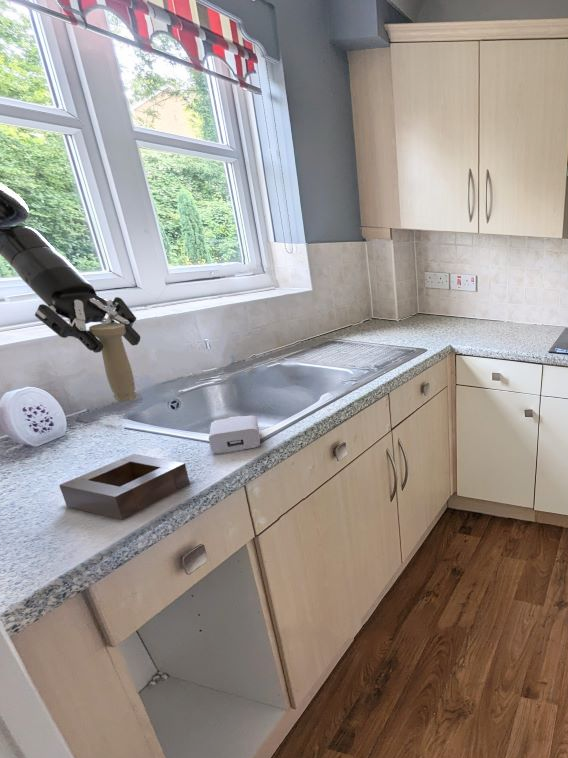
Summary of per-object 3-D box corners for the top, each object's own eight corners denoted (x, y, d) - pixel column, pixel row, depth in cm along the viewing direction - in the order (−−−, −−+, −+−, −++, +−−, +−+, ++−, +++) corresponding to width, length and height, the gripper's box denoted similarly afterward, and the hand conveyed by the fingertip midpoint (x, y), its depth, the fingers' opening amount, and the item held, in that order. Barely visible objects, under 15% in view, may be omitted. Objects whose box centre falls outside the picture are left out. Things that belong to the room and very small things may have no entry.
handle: (106, 406, 88) (85, 329, 83) (114, 396, 93) (95, 323, 88) (138, 403, 90) (119, 328, 85) (144, 393, 95) (127, 322, 90)
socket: (122, 519, 77) (115, 496, 75) (66, 507, 79) (58, 484, 78) (190, 483, 88) (185, 463, 86) (139, 473, 90) (133, 453, 89)
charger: (258, 423, 116) (260, 446, 104) (215, 429, 111) (212, 454, 99) (255, 406, 114) (257, 427, 102) (211, 411, 109) (207, 435, 97)
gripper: (11, 266, 78) (84, 341, 79) (103, 263, 91) (163, 327, 93) (-2, 295, 80) (69, 367, 82) (89, 288, 94) (148, 350, 95)
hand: (119, 345), depth 87 cm, fingers closed on handle, 6 cm apart
